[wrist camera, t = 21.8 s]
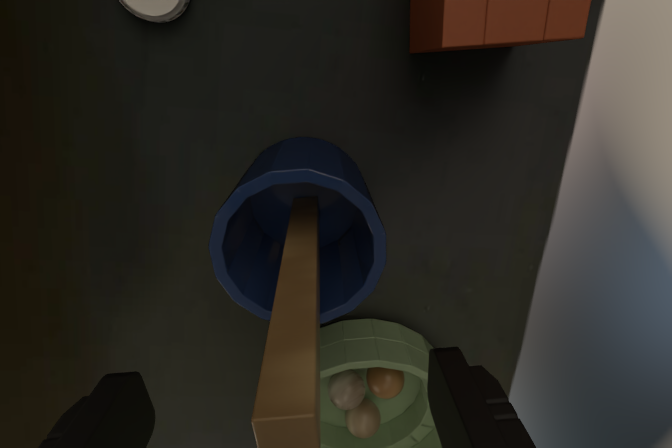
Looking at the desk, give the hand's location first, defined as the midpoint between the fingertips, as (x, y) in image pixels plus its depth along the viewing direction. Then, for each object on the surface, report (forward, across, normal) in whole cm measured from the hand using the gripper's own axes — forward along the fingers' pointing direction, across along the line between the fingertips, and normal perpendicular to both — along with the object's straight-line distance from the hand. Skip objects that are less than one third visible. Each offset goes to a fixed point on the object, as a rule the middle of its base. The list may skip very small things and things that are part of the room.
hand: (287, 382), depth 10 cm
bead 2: (+13, -3, +19) cm, 23 cm away
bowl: (+15, -3, +17) cm, 23 cm away
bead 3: (+13, -5, +15) cm, 20 cm away
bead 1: (+13, -2, +16) cm, 20 cm away
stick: (+15, 0, 0) cm, 15 cm away
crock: (+15, 0, 0) cm, 15 cm away
